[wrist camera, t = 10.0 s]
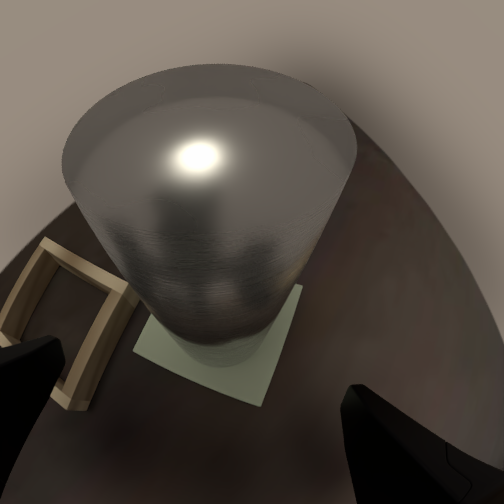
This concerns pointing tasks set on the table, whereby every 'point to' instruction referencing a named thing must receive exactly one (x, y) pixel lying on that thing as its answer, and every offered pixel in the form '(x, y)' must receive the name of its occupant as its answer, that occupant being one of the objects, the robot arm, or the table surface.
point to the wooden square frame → (101, 333)
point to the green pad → (228, 378)
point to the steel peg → (211, 195)
